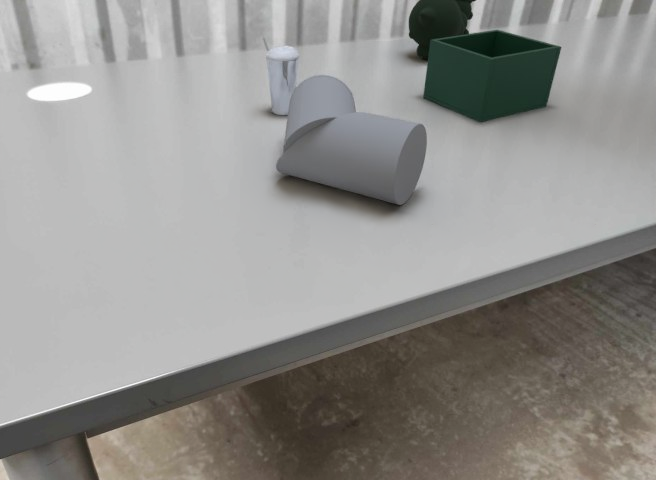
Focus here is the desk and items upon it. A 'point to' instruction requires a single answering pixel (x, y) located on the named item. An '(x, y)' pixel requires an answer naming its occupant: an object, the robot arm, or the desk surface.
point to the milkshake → (281, 76)
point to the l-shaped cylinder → (350, 143)
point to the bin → (490, 73)
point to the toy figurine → (438, 21)
